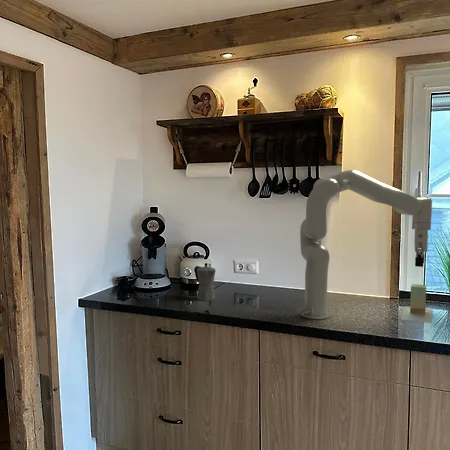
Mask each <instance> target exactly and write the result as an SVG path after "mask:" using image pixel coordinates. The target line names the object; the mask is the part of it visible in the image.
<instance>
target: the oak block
mask: <svg viewBox="0 0 450 450" xmlns="http://www.w3.org/2000/svg"><path fill="white" fill-rule="evenodd" d="M426 302H427V299H426V300H425V301H415V300H410V301H409V303H410V305H409V307H410V313H412V314H420V315H425V309H426V305H427V303H426Z"/></svg>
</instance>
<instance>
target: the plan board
mask: <svg viewBox="0 0 450 450" xmlns="http://www.w3.org/2000/svg"><path fill="white" fill-rule="evenodd" d="M433 312H434V311H433V309H430V308H425V315H420V314H412V313H410V306H403V310H402V312H401V317H400V320H405V321H410V322H411V321H413V322H421V323H429V324H433V315H434V313H433Z"/></svg>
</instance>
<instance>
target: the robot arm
mask: <svg viewBox="0 0 450 450" xmlns="http://www.w3.org/2000/svg"><path fill="white" fill-rule="evenodd" d="M347 190H350V191H351V192H354V193H356V194H358V195H360V196H362V197H364V198H366V199H368V200H370V201H372V202H375V203H378V204H384V205H387V206H390V207H392V209H393V210H394V211H395V213H397V214H401V215H407V216H412V218H411V219H412V221H411V229H412V230H414V252H415V257H414V258H415V260H414V264H415V265H414V267H419V268H424V263H425V254H427V253H428V246H429V245H428V244H429V242H428V241H429V231H430V230H431V229H432V211H433V200H432V198H430V197H415V196H413V195H411V194H409V193H407V192H405V191H402V190H401V189H398V188H396V187H393V186H390V185H388V184H387V183H383V182H381V181H379V180H377V179H375V178H373V177H371V176H369V175H367V174H364V173H362V172H360V171H358V170H355V169H348V170H347V169H346V170H344V171H341V172H337V173H334V174H331V175H328V176H324V177H322V178H319V179H318V180H316V181H315V182H314V183H313V188H312V190H311V191H310V193H309V195H308V197H307V199H306V207H305V219H304V220H303V221H302V222H301V224H300V227H299V228H300V230H299V233H300V234H299V236H300V253H301V256H302V258H303V259H304V260H305V262H306V264H305V271H304V273H305V274H304V304H303V305H302V307H301V308H297V309H296V313H297V314H300V315H301V316H302V317H303V318H306V319H311V320H325V319H326V320H327V319H329V318H330V317H331V312H330V311H328V309H327V307H328V276H329V275H328V272H329V264H330V252H329V250H328V248H327V247H326V246H325V245H324V244H322V240H323V239H325V237H326V235H327V232H328V231H327V230H328V229H327V206H328V203H329V202H330V200H331V199H333V198H334V197H335V196H336V195H337V194H338V193H342V192H344V191H347Z"/></svg>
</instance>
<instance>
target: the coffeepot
mask: <svg viewBox="0 0 450 450" xmlns="http://www.w3.org/2000/svg"><path fill="white" fill-rule="evenodd" d="M193 271H194V275H195V279H196V280H195V281H196V282H197V283H198V284H199V285H198V289H197V294H196V299H197V300H198V301H204V302H207V301H213V300H215V299H216V293H215V289H214V281H215V275H216V274H215V273H216V272H217V271H216V268H214V267H211V266H208V262H205V263H204V266H199V265H195V267H194V269H193Z"/></svg>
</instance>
